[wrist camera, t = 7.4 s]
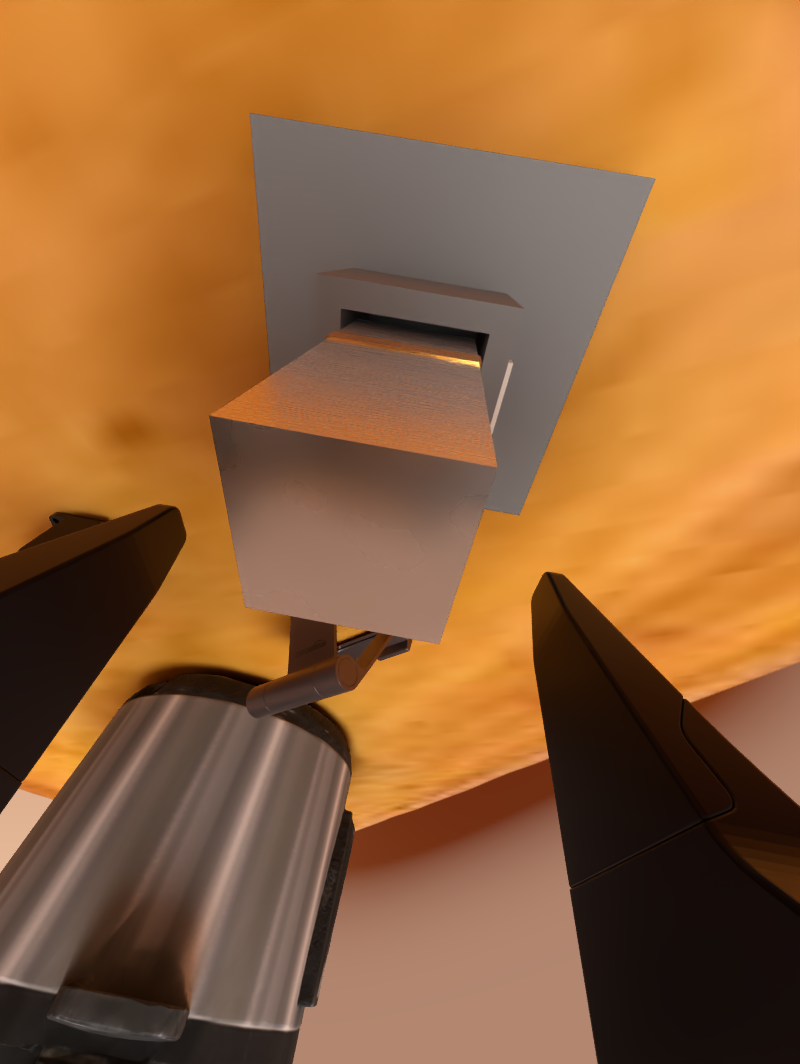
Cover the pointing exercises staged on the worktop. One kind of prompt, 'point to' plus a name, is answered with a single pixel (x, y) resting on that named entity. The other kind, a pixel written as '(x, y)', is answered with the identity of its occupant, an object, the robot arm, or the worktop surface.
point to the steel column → (360, 479)
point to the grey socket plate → (444, 261)
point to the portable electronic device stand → (321, 666)
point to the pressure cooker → (178, 886)
